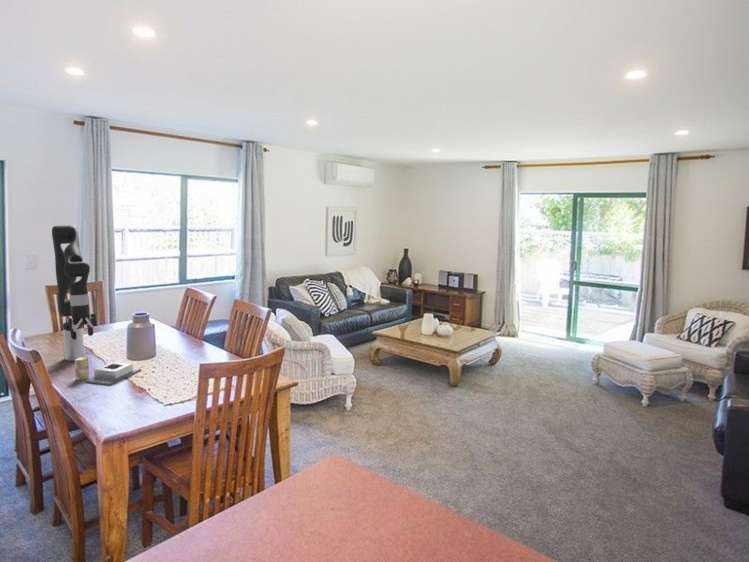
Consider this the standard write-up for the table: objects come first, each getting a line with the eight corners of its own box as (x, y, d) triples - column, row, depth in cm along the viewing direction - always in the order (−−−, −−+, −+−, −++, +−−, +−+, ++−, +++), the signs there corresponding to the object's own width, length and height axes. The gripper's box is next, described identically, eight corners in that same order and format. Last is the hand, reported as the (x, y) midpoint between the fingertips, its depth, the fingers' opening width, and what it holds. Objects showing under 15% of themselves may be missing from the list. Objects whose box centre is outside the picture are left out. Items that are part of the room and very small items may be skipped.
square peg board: (85, 382, 239) (84, 372, 238) (117, 367, 260) (117, 358, 259) (110, 385, 236) (109, 375, 235) (141, 370, 257) (140, 361, 256)
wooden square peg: (76, 379, 242) (74, 359, 241) (82, 376, 246) (81, 357, 245) (83, 380, 241) (81, 360, 240) (89, 377, 245) (88, 358, 244)
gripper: (87, 301, 243) (90, 334, 245) (60, 305, 230) (62, 340, 232) (98, 302, 241) (101, 334, 242) (71, 306, 228) (74, 341, 229)
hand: (82, 337), depth 237 cm, fingers open, 8 cm apart
